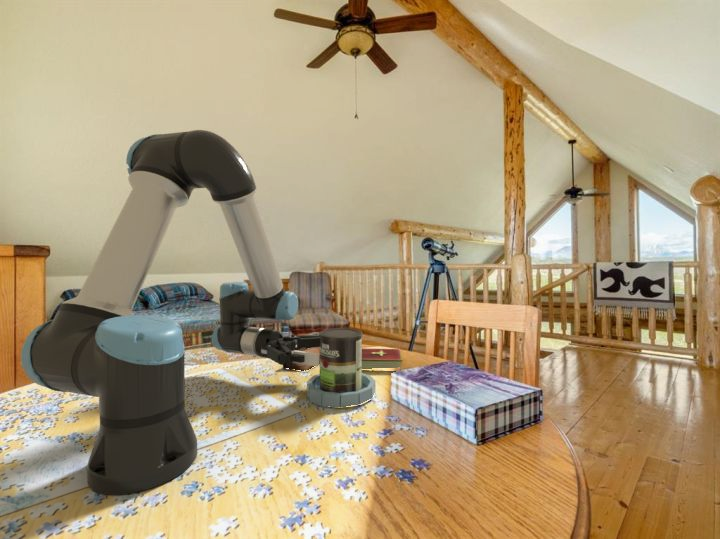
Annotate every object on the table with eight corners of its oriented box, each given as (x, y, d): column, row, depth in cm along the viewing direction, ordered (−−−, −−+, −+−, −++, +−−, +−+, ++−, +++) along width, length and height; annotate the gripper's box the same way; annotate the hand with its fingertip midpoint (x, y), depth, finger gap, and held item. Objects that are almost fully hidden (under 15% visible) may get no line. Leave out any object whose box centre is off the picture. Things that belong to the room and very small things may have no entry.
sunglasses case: (306, 372, 102) (296, 351, 103) (289, 382, 104) (279, 360, 106) (338, 356, 118) (329, 337, 119) (322, 364, 121) (313, 346, 122)
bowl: (384, 403, 82) (384, 390, 82) (313, 412, 77) (313, 398, 77) (363, 379, 97) (363, 368, 97) (303, 385, 92) (303, 373, 92)
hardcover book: (334, 359, 116) (334, 346, 116) (400, 360, 115) (400, 347, 115) (329, 372, 104) (328, 357, 104) (402, 373, 103) (402, 359, 103)
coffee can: (340, 403, 80) (340, 340, 79) (310, 390, 87) (310, 332, 86) (371, 390, 87) (371, 332, 87) (341, 379, 94) (341, 326, 94)
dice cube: (306, 348, 127) (306, 334, 127) (313, 345, 132) (313, 331, 132) (319, 350, 125) (319, 336, 125) (326, 346, 130) (326, 333, 130)
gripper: (290, 345, 108) (354, 354, 99) (228, 370, 85) (304, 384, 76) (290, 320, 107) (355, 327, 99) (227, 339, 85) (304, 349, 76)
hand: (333, 352), depth 88 cm, fingers open, 13 cm apart
